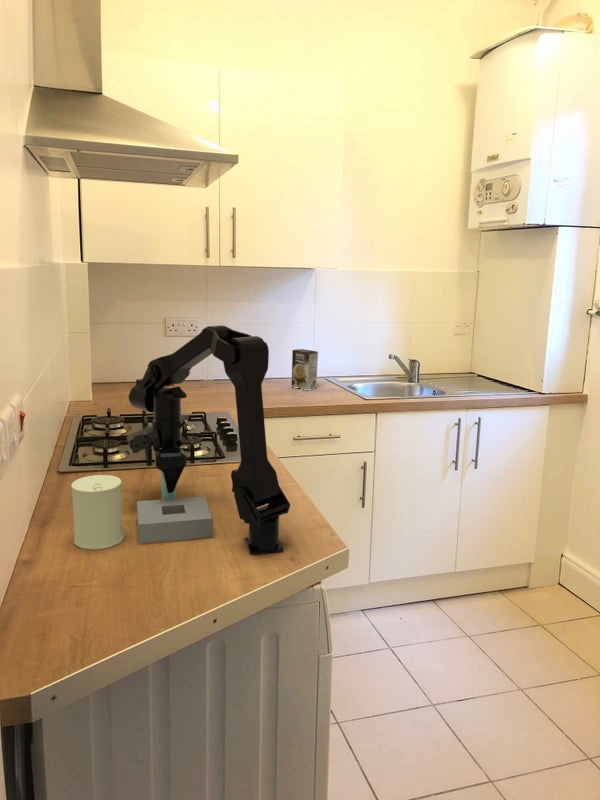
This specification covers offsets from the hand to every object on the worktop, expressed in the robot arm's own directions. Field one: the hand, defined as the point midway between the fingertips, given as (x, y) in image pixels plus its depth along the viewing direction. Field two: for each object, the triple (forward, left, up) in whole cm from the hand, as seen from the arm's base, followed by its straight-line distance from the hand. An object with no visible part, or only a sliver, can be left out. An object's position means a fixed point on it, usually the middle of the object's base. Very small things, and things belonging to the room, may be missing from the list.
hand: (168, 485), depth 141 cm
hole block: (-13, 0, -4) cm, 14 cm away
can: (-15, +14, -5) cm, 21 cm away
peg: (0, 0, -4) cm, 5 cm away
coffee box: (+118, -64, -5) cm, 134 cm away
